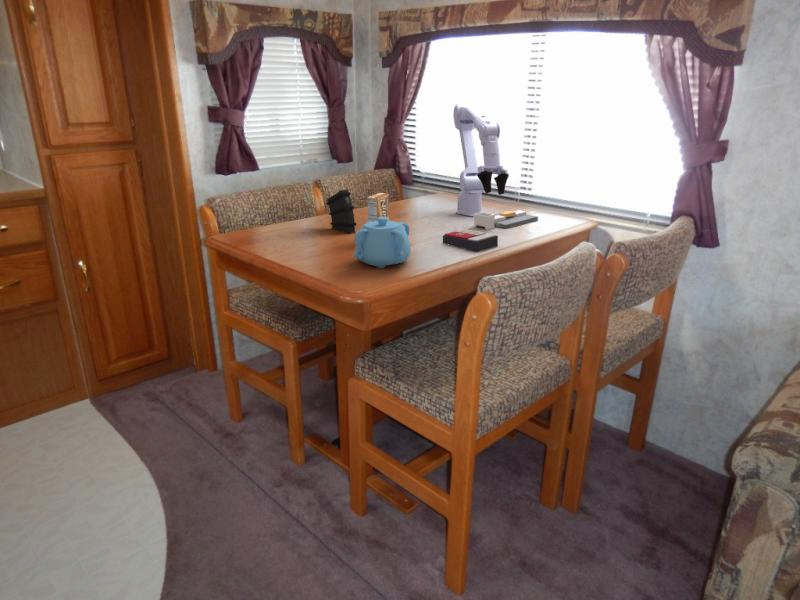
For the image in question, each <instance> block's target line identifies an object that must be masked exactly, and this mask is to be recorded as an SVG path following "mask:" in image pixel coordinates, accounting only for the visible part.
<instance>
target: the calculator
mask: <svg viewBox="0 0 800 600" xmlns="http://www.w3.org/2000/svg"><path fill="white" fill-rule="evenodd" d="M498 240H499V236H498V235H496V234H494V233H487V232H484V231H479V230H473V229H472V230H471V229H466V228H464V229H459V230H455V231H451V232H447V233H444V235H442V244H444V243H445V244H444V245H448V244H449V246H453V247H457V248H461V249H465V250H468V251H472V252H475V253H477V252H481V251H485V250H488V249H492V248H495V247H498V245H499V244H498V243H499V241H498Z"/></svg>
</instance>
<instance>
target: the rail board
mask: <svg viewBox="0 0 800 600" xmlns="http://www.w3.org/2000/svg"><path fill="white" fill-rule="evenodd" d="M514 212H516V215H514V216H509V217H505V216H500V213H501V212H500V213H495V214H493V215H495V220H494V227H495V226H496V228H500V229H504V230H506V229H510V228H515V227H517V226H522V225H526V224H529V223H533V222H537V221H539V216H538V215H532V214H527V211H526V210H525V211H523V210H514Z"/></svg>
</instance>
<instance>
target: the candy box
mask: <svg viewBox="0 0 800 600" xmlns="http://www.w3.org/2000/svg"><path fill="white" fill-rule="evenodd" d="M366 199H367V203H366V204H367V222H369V221H371V222H375V221H377V218H379V217H386V218H388V221H390V217H389V216H390V194H389V193H385V192H378V193H375V194H373V195H369V196H367V198H366Z"/></svg>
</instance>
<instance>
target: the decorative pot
mask: <svg viewBox="0 0 800 600" xmlns="http://www.w3.org/2000/svg"><path fill="white" fill-rule="evenodd" d="M409 235H410V226H409V225H408V224H407V223H406V222H404V221H403V222H402V221H399V222H397V221H393V220H389V221H388V218H386V217H379V218H377V221H375V222H371V221H369V222H368V221H365V223H364V224H363V225H362V227H361V228H360V229H359V230H357V231H355V233H354V239H353V240H354V243H355V251H354V252H353V257H354V258H355V259H356V260H359V261H360V262H362V263H364V264H367V265H371V266H375V268H377V269H384V268H386V266H391V265H399V264H398V263H402V264H403V262H405V261H407V260H408V258H409V257H410V256H411V251H412V249H411V242H410V239H409ZM383 267H384V268H383Z"/></svg>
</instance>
